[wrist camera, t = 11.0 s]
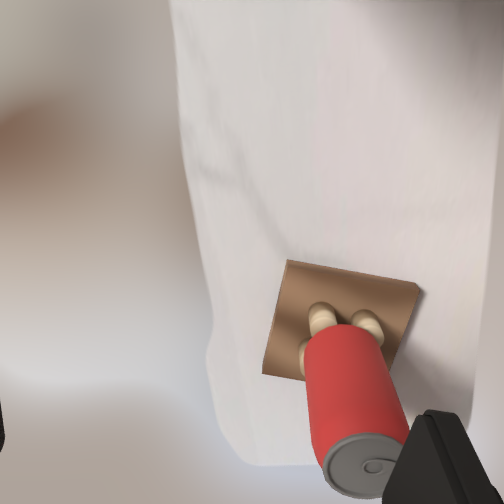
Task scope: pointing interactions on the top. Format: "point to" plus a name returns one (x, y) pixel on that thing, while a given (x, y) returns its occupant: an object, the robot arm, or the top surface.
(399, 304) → the peg stand
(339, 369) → the beer can
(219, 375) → the top surface
